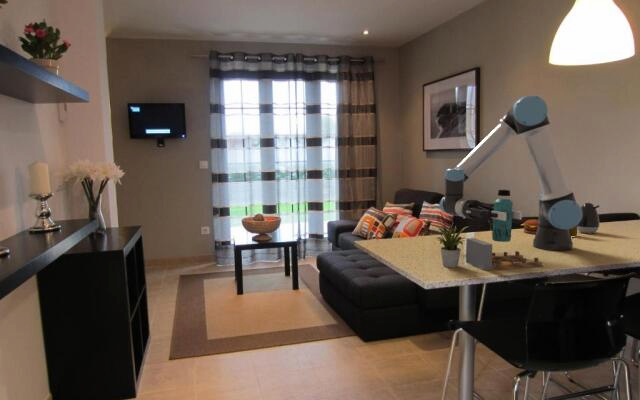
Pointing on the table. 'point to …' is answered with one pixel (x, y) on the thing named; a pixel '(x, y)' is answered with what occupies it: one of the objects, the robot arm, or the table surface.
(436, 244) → the table surface
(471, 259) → the end block
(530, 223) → the hamburger
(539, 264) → the wooden peg rack
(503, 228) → the beverage bottle
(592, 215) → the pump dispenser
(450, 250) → the house plant
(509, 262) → the band marker
